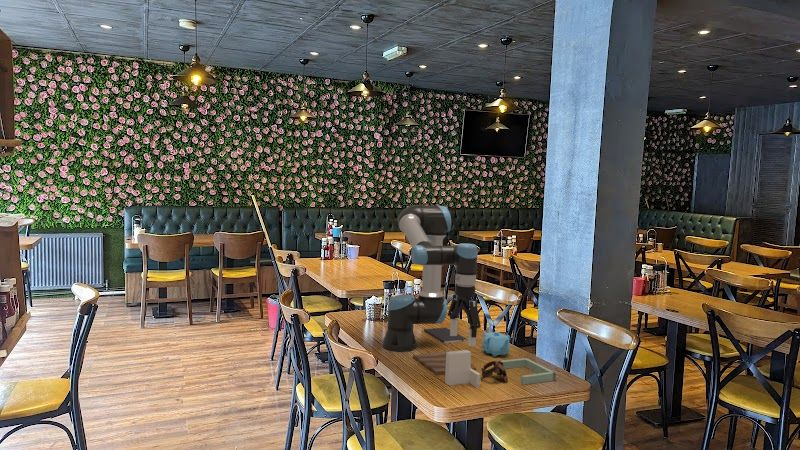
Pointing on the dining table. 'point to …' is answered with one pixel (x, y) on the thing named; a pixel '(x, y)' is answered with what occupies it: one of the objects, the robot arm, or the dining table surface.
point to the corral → (543, 372)
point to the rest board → (434, 362)
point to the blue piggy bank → (496, 344)
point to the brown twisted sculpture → (494, 369)
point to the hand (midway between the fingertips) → (462, 340)
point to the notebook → (444, 335)
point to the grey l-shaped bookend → (460, 369)
